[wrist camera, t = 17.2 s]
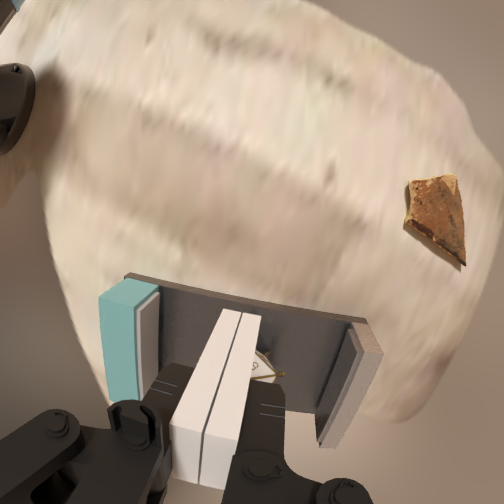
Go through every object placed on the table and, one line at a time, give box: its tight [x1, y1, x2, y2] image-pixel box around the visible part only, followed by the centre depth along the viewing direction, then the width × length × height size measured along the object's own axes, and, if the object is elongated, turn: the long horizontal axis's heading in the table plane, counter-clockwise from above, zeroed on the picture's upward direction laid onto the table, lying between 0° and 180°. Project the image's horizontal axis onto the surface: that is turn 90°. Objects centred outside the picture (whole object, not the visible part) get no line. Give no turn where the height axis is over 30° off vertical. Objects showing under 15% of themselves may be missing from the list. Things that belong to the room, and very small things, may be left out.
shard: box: [405, 173, 466, 267], centre depth 27 cm, size 11×8×2 cm
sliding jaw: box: [99, 278, 160, 402], centre depth 29 cm, size 14×4×6 cm, turn 171°
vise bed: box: [124, 272, 384, 448], centre depth 29 cm, size 14×28×8 cm, turn 81°
